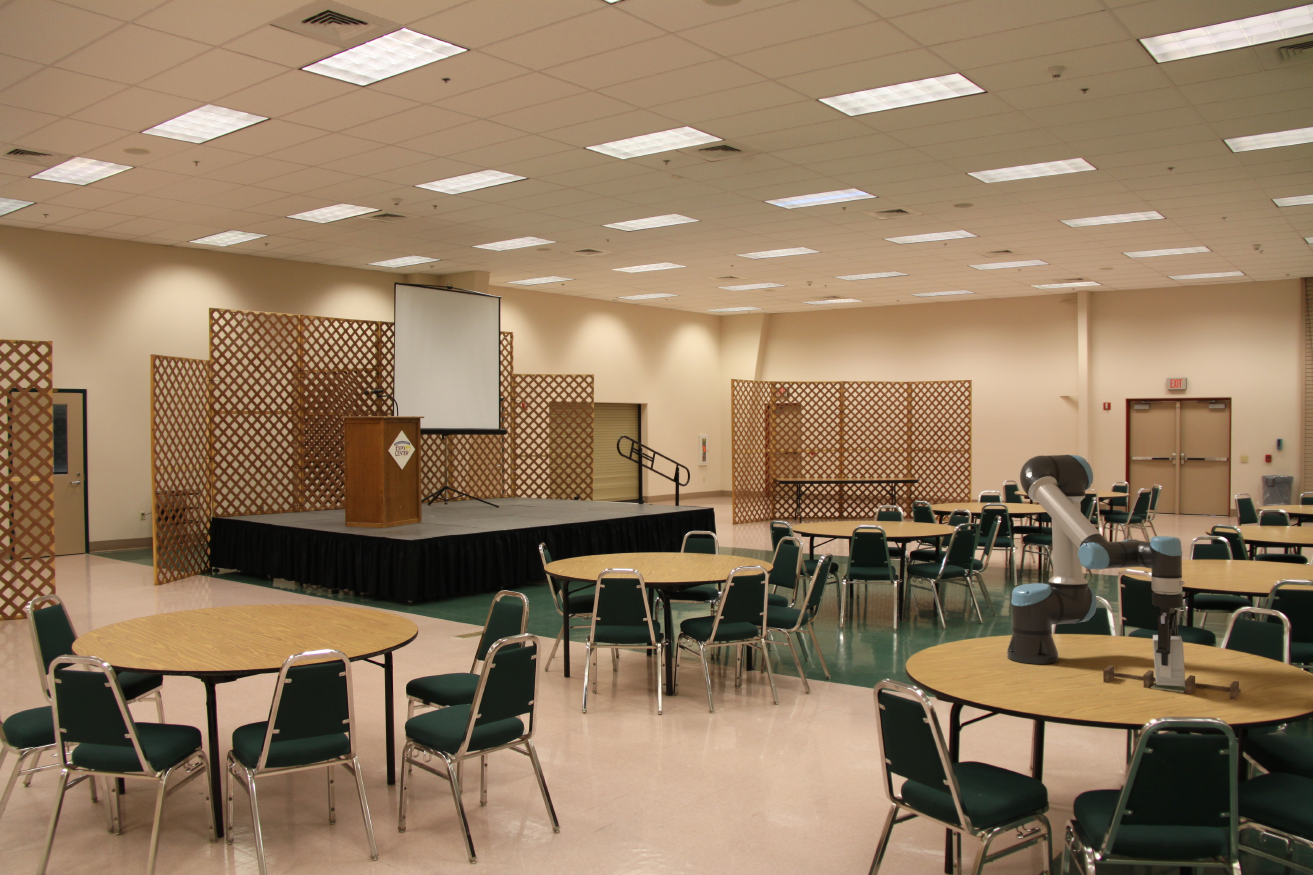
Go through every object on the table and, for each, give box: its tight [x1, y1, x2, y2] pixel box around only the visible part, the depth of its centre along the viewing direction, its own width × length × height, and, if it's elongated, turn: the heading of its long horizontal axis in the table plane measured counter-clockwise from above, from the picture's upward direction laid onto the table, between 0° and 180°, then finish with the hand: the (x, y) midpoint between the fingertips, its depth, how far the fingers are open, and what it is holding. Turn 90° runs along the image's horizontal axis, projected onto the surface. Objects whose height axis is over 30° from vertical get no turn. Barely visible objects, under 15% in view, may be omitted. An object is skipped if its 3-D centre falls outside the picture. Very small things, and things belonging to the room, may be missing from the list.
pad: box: [1150, 682, 1186, 694], centre depth 259 cm, size 8×6×1 cm
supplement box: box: [1152, 634, 1186, 686], centre depth 259 cm, size 7×7×13 cm
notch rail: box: [1102, 664, 1242, 701], centre depth 260 cm, size 32×10×4 cm, turn 51°
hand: (1169, 673), depth 259 cm, fingers closed on supplement box, 8 cm apart
